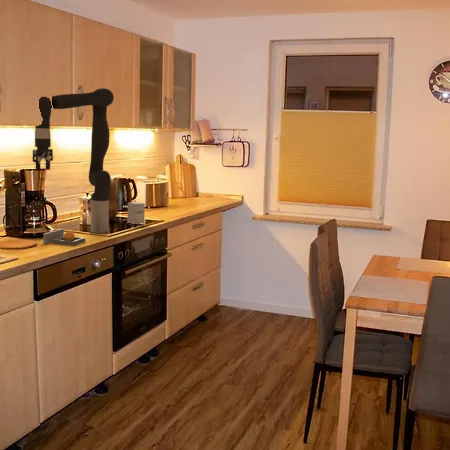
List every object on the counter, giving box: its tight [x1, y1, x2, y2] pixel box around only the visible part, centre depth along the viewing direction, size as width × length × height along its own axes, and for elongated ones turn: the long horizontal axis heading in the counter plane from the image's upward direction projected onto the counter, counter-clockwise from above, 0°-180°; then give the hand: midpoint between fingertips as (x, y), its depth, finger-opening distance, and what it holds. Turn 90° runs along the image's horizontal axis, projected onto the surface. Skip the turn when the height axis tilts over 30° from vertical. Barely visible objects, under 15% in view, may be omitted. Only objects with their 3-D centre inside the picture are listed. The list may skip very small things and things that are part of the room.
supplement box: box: [127, 201, 146, 225], centre depth 350 cm, size 7×7×13 cm
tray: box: [52, 236, 86, 247], centre depth 290 cm, size 11×11×2 cm
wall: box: [42, 228, 65, 245], centre depth 292 cm, size 16×1×5 cm, turn 164°
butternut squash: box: [108, 178, 119, 221], centre depth 357 cm, size 14×13×25 cm
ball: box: [64, 231, 76, 241], centre depth 290 cm, size 5×5×5 cm
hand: (43, 170), depth 301 cm, fingers open, 8 cm apart
